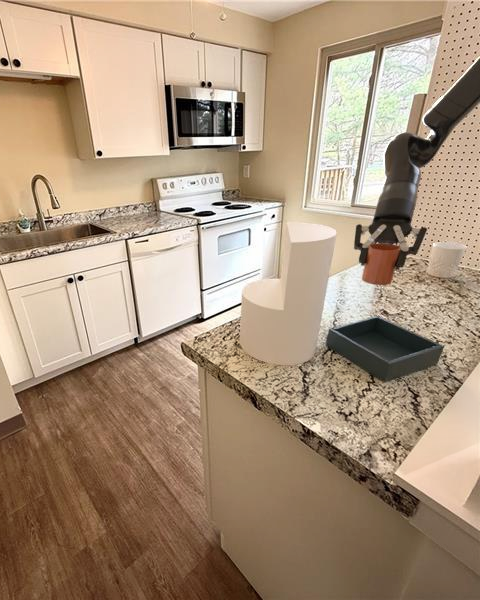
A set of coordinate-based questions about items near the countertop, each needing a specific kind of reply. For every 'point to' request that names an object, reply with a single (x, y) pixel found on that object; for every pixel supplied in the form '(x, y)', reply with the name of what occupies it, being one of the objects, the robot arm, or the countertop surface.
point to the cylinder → (289, 299)
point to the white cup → (445, 259)
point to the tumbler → (380, 263)
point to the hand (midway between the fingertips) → (379, 266)
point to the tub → (383, 348)
